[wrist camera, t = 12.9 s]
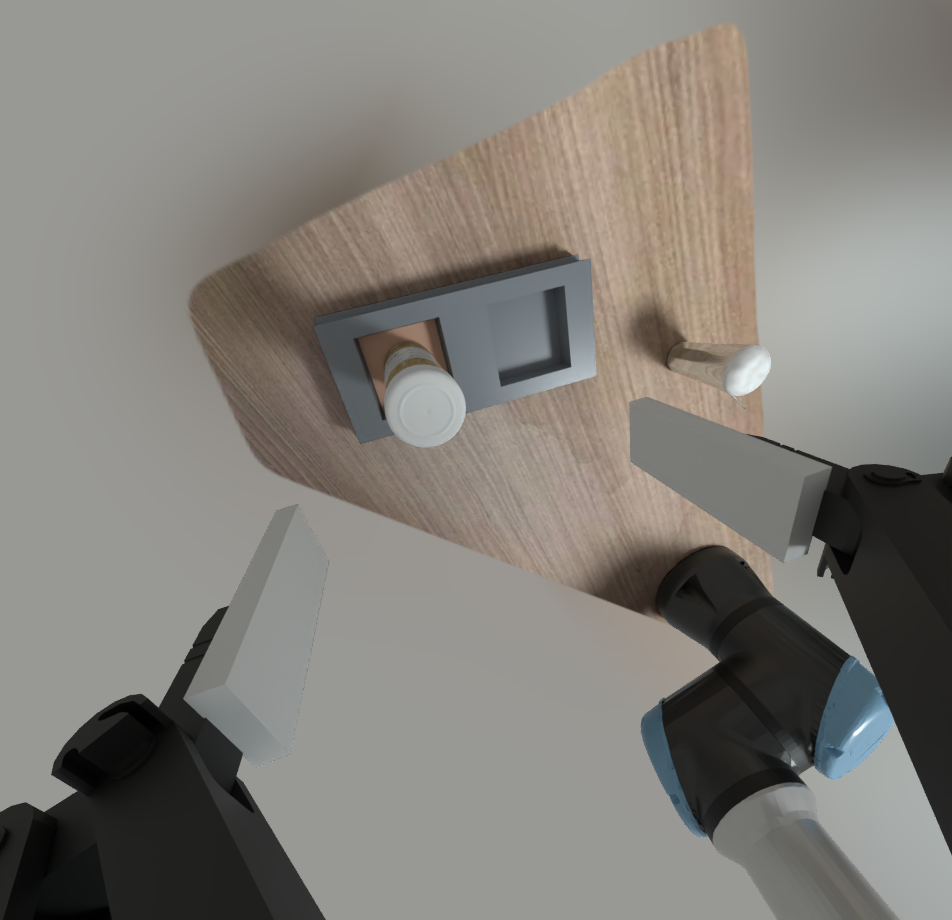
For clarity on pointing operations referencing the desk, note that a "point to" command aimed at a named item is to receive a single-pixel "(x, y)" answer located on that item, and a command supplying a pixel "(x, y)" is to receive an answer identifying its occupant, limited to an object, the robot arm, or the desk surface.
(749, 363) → the milkshake
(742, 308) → the desk surface
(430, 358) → the sprinkles bottle
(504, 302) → the two-pocket grey tray
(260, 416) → the desk surface
